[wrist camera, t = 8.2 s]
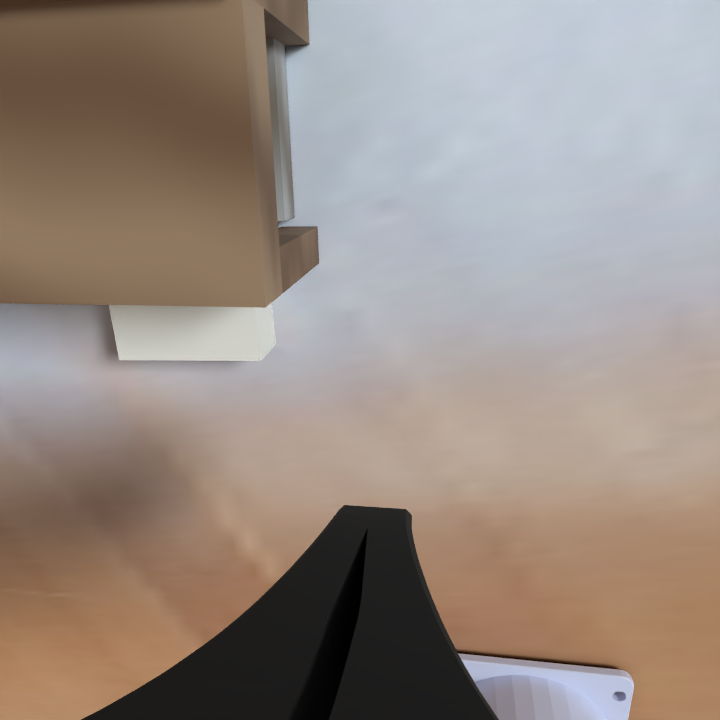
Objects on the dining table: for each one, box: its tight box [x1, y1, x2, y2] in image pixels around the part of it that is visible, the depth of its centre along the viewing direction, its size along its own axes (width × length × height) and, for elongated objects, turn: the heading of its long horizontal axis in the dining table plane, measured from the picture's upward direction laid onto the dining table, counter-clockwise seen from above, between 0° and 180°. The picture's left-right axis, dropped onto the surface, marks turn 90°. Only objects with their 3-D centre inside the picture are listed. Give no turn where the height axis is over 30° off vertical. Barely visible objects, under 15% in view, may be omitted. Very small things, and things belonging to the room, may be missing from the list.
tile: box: [109, 303, 276, 361], centre depth 19 cm, size 9×5×2 cm, turn 3°
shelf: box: [0, 0, 319, 308], centre depth 15 cm, size 8×10×6 cm
